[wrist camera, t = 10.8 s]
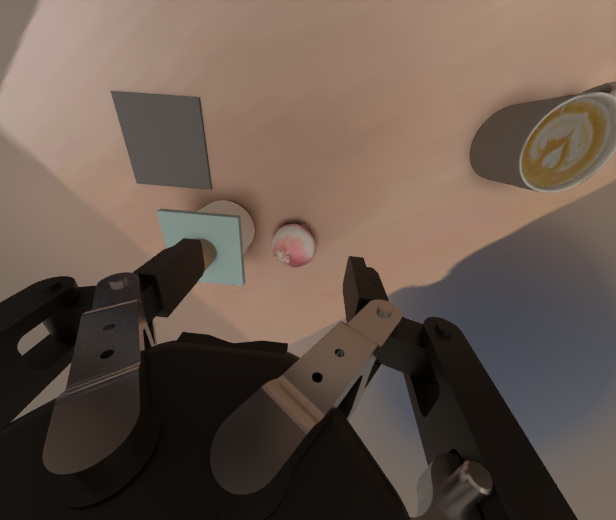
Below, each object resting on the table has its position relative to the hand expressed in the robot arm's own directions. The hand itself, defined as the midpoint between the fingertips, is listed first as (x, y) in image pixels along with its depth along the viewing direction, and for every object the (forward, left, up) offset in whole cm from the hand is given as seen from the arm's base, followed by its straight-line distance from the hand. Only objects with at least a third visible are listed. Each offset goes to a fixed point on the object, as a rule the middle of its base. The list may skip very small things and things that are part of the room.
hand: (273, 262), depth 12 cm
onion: (+11, -1, -29) cm, 31 cm away
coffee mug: (-8, +31, -29) cm, 43 cm away
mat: (-4, -23, -29) cm, 37 cm away
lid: (+9, -14, -19) cm, 25 cm away
